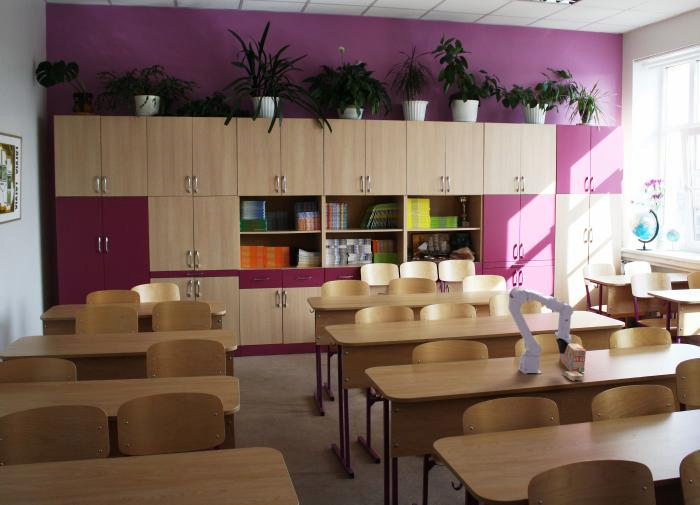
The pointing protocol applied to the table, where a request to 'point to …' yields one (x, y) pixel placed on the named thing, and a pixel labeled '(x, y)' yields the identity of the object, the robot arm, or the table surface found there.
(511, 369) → the table surface
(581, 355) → the beige printed box
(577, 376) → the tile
